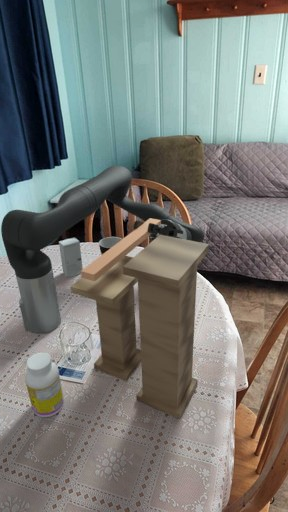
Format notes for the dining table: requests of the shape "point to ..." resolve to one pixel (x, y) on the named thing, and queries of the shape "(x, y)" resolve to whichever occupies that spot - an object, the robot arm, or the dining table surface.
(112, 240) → the coffee mug
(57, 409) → the supplement bottle
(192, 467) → the dining table surface
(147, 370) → the pedestals
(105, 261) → the slat
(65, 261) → the skincare box
